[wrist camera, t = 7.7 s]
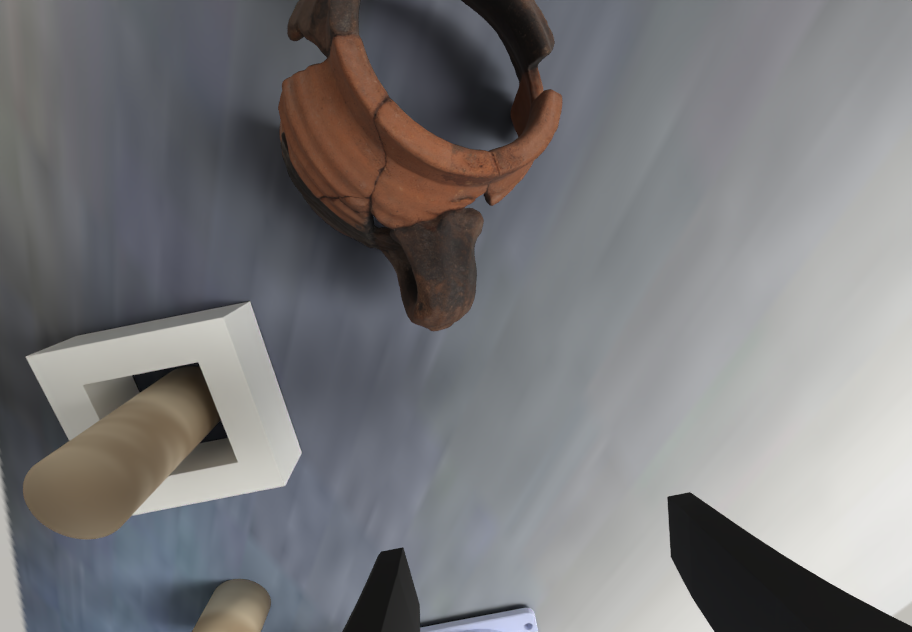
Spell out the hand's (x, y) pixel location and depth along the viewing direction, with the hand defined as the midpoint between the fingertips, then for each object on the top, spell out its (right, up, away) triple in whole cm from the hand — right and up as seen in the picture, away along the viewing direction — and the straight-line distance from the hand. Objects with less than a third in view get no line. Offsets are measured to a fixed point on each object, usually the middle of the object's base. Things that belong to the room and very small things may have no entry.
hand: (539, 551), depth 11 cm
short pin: (-14, -10, +13) cm, 21 cm away
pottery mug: (-4, +13, +7) cm, 15 cm away
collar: (-15, +2, +9) cm, 17 cm away
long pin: (-15, +2, +9) cm, 17 cm away
